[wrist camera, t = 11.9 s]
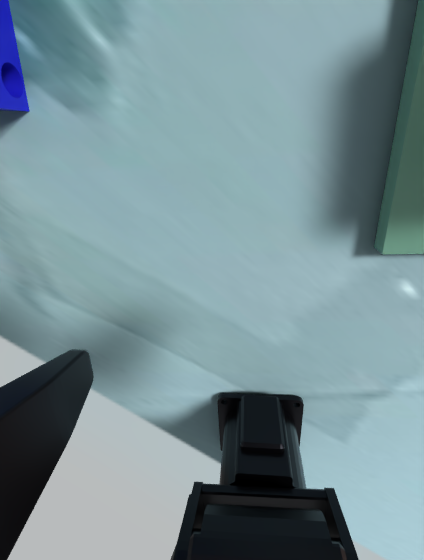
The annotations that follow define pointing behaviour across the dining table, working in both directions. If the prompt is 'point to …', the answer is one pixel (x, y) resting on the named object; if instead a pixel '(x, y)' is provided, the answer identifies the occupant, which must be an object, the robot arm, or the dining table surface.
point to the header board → (406, 160)
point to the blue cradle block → (10, 65)
